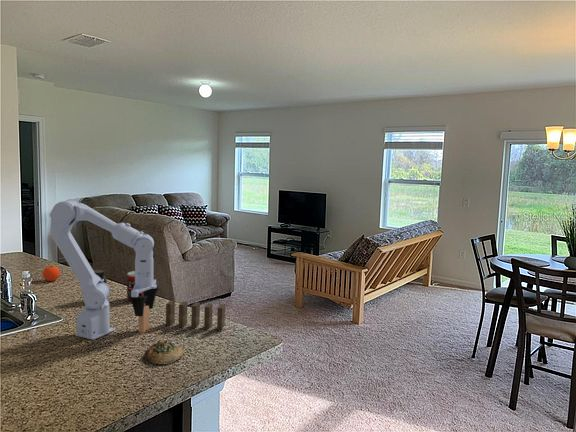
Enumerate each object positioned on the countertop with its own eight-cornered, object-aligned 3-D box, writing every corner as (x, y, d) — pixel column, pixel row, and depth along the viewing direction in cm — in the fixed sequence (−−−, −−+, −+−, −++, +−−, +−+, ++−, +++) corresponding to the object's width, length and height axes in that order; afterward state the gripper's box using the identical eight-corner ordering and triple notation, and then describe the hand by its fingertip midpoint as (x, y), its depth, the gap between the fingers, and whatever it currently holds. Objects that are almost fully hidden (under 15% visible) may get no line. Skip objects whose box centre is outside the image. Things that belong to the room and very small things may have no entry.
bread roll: (142, 350, 128) (145, 334, 128) (180, 351, 132) (183, 336, 132) (144, 369, 118) (146, 351, 117) (185, 369, 122) (187, 352, 122)
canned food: (122, 300, 173) (122, 273, 172) (138, 295, 181) (138, 269, 179) (136, 303, 170) (136, 276, 169) (151, 298, 177) (151, 272, 176)
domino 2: (165, 326, 148) (166, 303, 147) (170, 322, 152) (170, 300, 151) (170, 326, 148) (170, 304, 147) (174, 322, 152) (174, 300, 151)
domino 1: (138, 332, 142) (139, 309, 141) (144, 328, 146) (144, 305, 145) (143, 333, 141) (143, 309, 141) (148, 328, 145) (148, 305, 144)
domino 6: (217, 331, 146) (217, 308, 145) (220, 326, 150) (220, 304, 149) (221, 331, 146) (222, 308, 145) (224, 327, 150) (225, 304, 149)
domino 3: (178, 327, 147) (178, 304, 146) (182, 323, 151) (183, 301, 150) (183, 328, 147) (183, 305, 146) (187, 323, 151) (187, 301, 150)
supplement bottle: (93, 304, 166) (93, 274, 165) (84, 300, 170) (84, 271, 169) (110, 300, 172) (110, 271, 170) (101, 297, 176) (101, 268, 175)
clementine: (45, 278, 199) (45, 263, 198) (62, 278, 201) (61, 263, 200) (41, 283, 191) (40, 267, 191) (58, 282, 194) (58, 267, 193)
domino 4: (191, 328, 147) (191, 306, 146) (195, 324, 151) (195, 302, 150) (195, 329, 147) (196, 306, 146) (199, 324, 151) (199, 302, 150)
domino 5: (204, 329, 146) (204, 307, 146) (207, 325, 150) (208, 303, 149) (208, 330, 146) (209, 307, 145) (212, 325, 150) (212, 303, 149)
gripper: (146, 278, 134) (146, 320, 135) (164, 267, 148) (164, 305, 150) (124, 276, 134) (124, 318, 136) (145, 266, 149) (145, 304, 150)
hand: (144, 312), depth 143 cm, fingers open, 7 cm apart
